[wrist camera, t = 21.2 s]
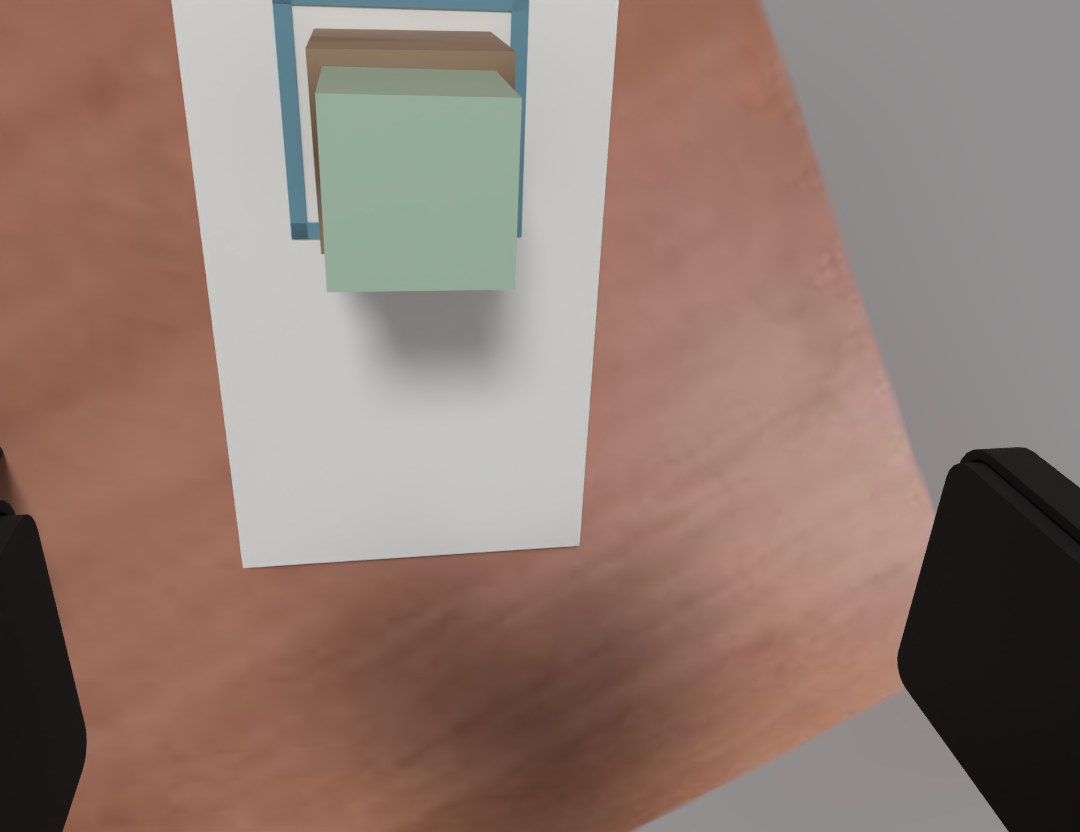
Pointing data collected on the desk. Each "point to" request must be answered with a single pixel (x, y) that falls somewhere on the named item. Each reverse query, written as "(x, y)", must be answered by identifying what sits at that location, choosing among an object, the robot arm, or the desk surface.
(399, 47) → the walnut block
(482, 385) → the building board
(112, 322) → the desk surface
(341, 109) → the sage cube
